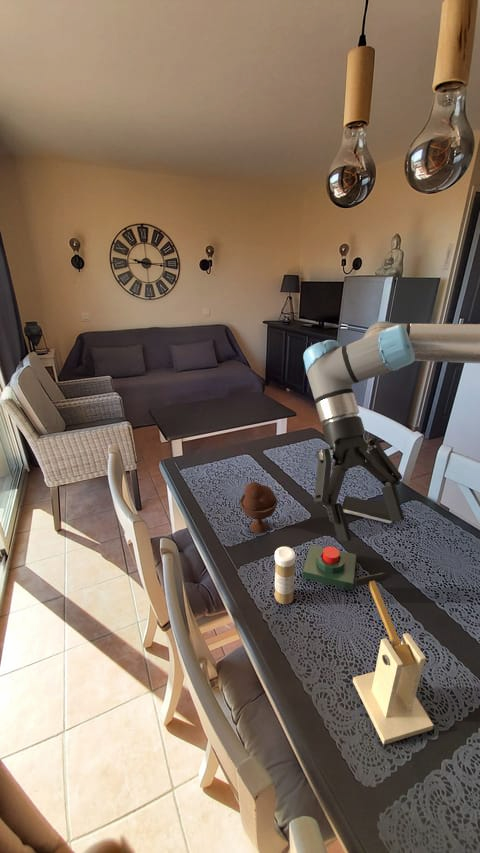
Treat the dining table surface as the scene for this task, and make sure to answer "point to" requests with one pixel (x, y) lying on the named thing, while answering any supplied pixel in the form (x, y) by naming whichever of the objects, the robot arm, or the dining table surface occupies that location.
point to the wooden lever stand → (394, 693)
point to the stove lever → (386, 616)
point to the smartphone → (366, 509)
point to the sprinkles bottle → (284, 574)
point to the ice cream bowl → (258, 505)
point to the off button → (331, 555)
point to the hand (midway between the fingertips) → (372, 530)
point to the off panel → (330, 568)
